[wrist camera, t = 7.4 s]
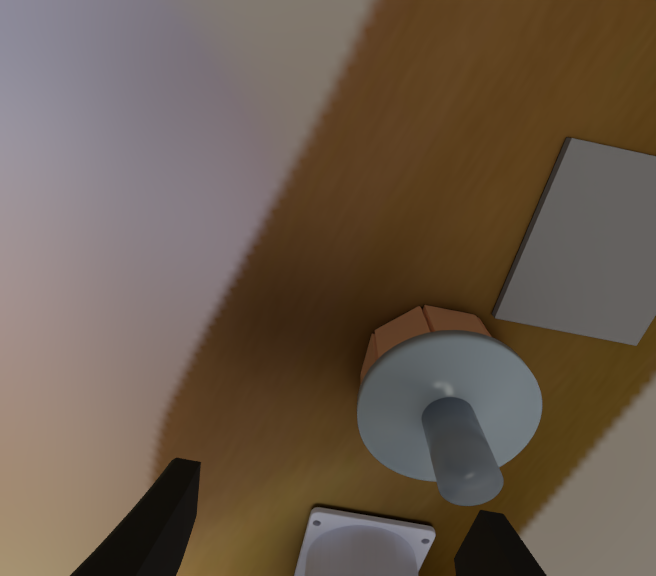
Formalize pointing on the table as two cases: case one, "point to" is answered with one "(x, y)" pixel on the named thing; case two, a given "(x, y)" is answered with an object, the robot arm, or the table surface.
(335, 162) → the table surface
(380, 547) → the robot arm
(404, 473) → the lid
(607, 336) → the mat
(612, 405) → the table surface
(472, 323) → the bowl
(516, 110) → the table surface
